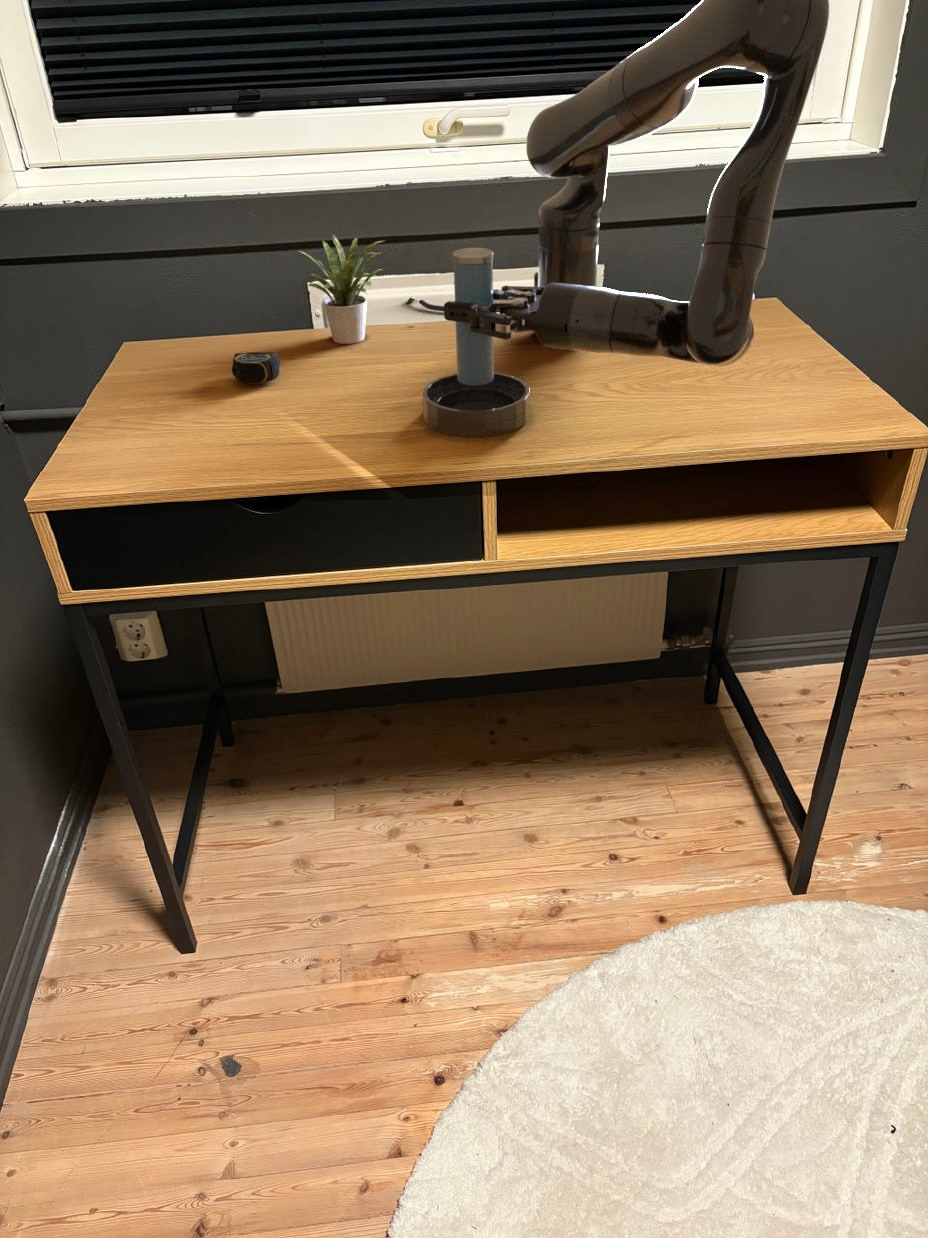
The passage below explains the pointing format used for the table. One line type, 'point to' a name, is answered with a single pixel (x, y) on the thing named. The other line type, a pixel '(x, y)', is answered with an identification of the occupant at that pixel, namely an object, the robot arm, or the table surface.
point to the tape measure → (256, 367)
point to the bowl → (476, 406)
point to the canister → (478, 289)
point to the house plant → (345, 293)
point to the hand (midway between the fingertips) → (455, 303)
